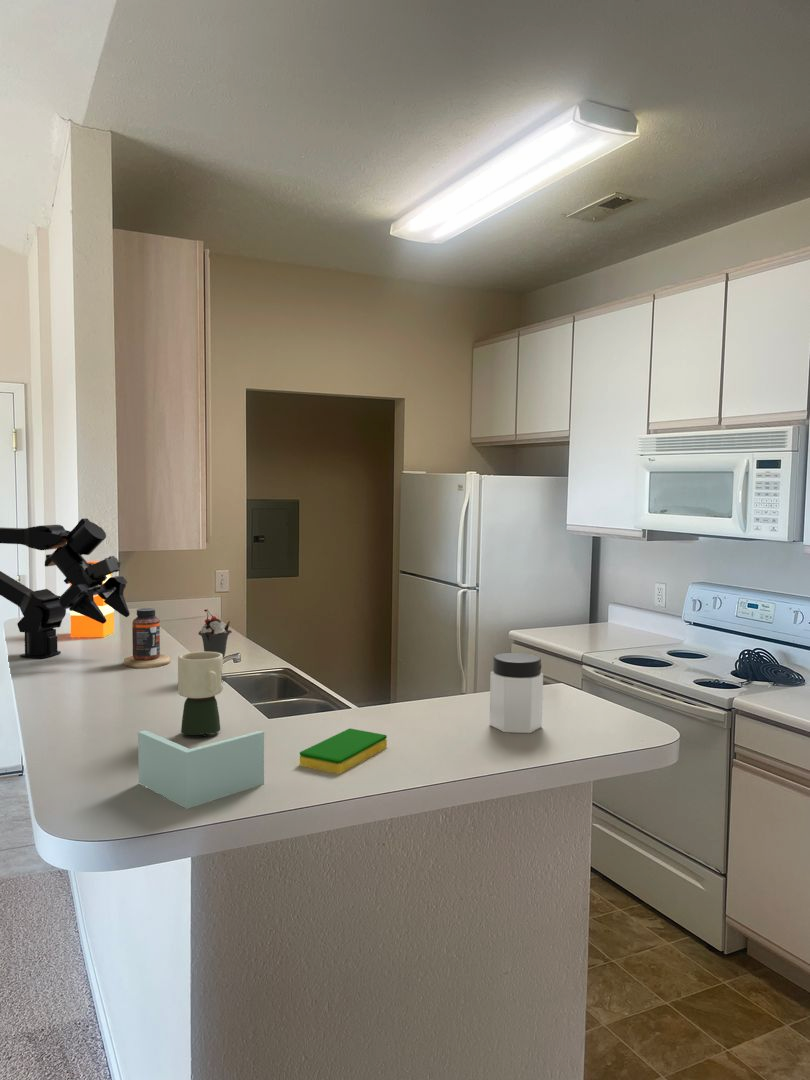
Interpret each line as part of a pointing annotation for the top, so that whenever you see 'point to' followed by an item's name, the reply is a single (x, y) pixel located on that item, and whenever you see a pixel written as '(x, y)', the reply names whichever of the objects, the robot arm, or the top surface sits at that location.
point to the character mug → (200, 691)
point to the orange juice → (90, 627)
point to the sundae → (215, 636)
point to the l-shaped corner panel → (200, 767)
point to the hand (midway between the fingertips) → (116, 619)
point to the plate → (147, 662)
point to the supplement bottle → (146, 635)
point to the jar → (516, 693)
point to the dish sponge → (343, 750)
